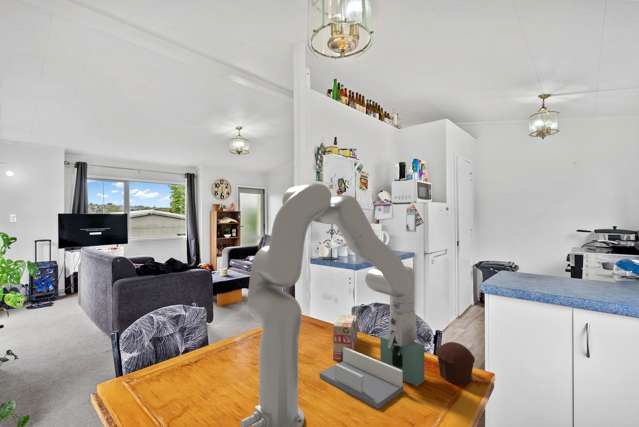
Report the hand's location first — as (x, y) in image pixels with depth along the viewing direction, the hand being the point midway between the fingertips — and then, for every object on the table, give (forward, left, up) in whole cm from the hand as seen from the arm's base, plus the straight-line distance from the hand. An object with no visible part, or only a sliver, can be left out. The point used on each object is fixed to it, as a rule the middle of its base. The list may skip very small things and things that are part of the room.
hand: (401, 363), depth 99 cm
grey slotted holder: (-14, +6, -4) cm, 15 cm away
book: (0, 0, -4) cm, 4 cm away
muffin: (+11, -12, -4) cm, 17 cm away
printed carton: (+3, +26, -4) cm, 26 cm away
